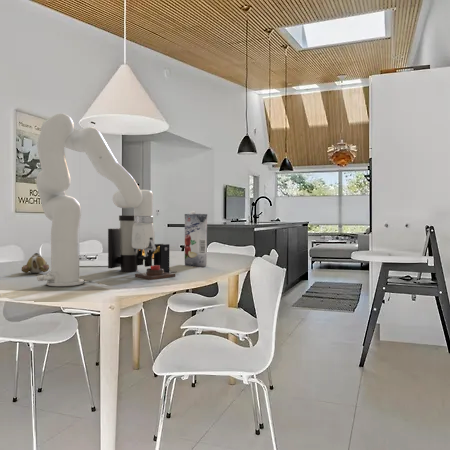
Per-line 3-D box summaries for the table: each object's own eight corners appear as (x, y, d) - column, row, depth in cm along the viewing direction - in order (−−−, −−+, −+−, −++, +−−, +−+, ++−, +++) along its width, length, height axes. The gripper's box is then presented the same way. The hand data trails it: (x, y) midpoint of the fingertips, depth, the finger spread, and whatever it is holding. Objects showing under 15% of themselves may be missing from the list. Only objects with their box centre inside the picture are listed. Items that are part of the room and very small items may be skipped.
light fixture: (132, 275, 178) (132, 215, 178) (107, 274, 180) (107, 215, 180) (143, 271, 190) (143, 215, 190) (120, 271, 192) (120, 215, 192)
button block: (150, 282, 160) (150, 271, 160) (134, 279, 167) (134, 269, 167) (175, 279, 169) (175, 269, 169) (159, 276, 176) (159, 266, 176)
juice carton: (196, 264, 220) (197, 211, 219) (209, 266, 211) (209, 211, 211) (182, 265, 214) (182, 211, 213) (194, 267, 206) (194, 210, 205)
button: (154, 271, 165) (154, 266, 165) (148, 270, 168) (148, 265, 168) (161, 270, 168) (161, 265, 168) (156, 269, 170) (156, 264, 170)
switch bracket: (157, 276, 175) (157, 245, 175) (146, 274, 181) (146, 244, 180) (176, 274, 182) (177, 244, 182) (165, 272, 188) (165, 243, 187)
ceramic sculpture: (50, 250, 193) (48, 255, 179) (51, 269, 194) (48, 276, 179) (24, 251, 190) (19, 256, 175) (25, 270, 190) (20, 277, 176)
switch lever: (145, 261, 172) (144, 256, 172) (138, 260, 176) (136, 255, 175) (168, 250, 181) (167, 244, 180) (161, 249, 184) (159, 244, 183)
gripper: (123, 220, 178) (124, 264, 178) (148, 221, 166) (148, 268, 166) (139, 220, 183) (139, 263, 183) (164, 220, 171) (164, 266, 172)
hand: (143, 265), depth 175 cm, fingers closed on switch lever, 5 cm apart
